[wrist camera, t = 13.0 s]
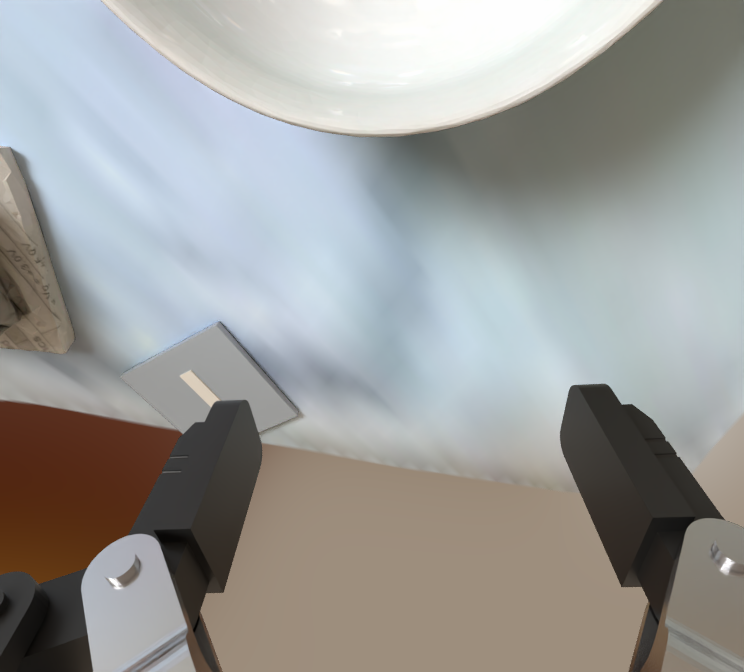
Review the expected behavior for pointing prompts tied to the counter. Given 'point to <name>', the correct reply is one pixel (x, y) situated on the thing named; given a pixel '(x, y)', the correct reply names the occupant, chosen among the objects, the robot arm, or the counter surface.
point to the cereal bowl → (380, 55)
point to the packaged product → (27, 273)
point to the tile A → (207, 381)
